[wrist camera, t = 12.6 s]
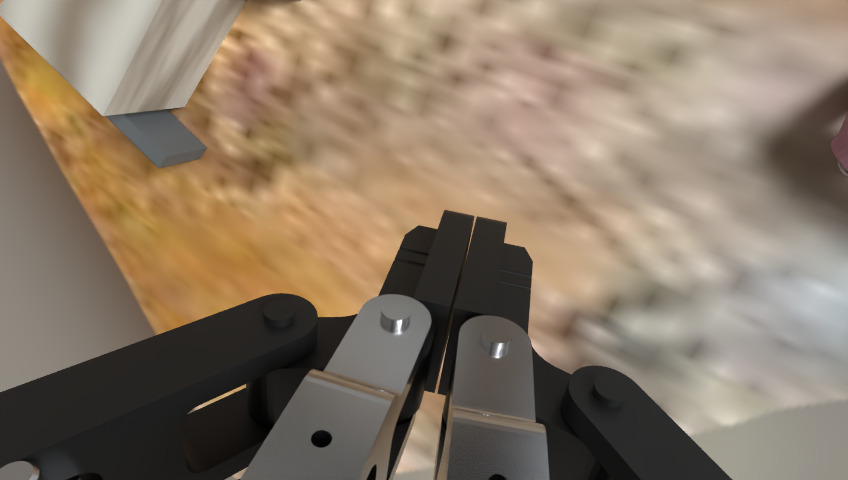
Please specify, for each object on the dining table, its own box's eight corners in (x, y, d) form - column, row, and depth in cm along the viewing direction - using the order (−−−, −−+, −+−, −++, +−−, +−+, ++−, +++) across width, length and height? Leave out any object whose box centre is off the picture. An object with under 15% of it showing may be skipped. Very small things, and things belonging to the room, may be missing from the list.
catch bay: (66, 28, 47) (13, 25, 43) (153, -166, 40) (99, -191, 36) (199, 158, 46) (158, 168, 42) (310, -15, 39) (274, -23, 35)
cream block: (96, 20, 46) (-3, 12, 38) (149, -94, 41) (49, -127, 34) (185, 106, 45) (102, 116, 38) (248, 1, 41) (168, -12, 34)
